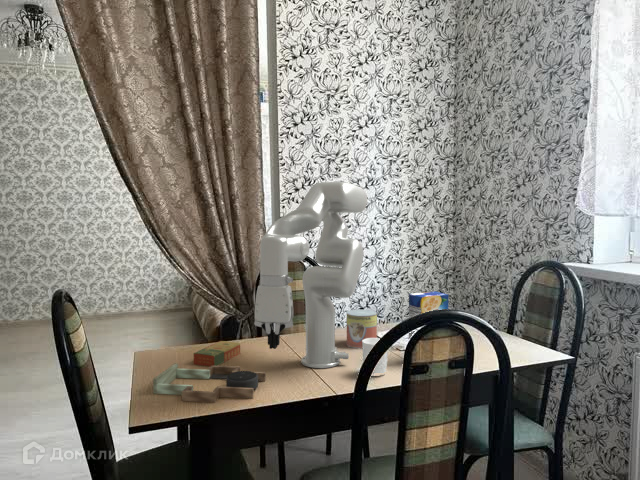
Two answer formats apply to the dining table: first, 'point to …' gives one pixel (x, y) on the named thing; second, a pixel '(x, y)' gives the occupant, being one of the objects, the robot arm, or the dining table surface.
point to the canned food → (360, 326)
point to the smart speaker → (242, 379)
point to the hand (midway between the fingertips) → (273, 347)
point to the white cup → (367, 346)
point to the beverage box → (426, 303)
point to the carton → (216, 353)
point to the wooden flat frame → (214, 372)
